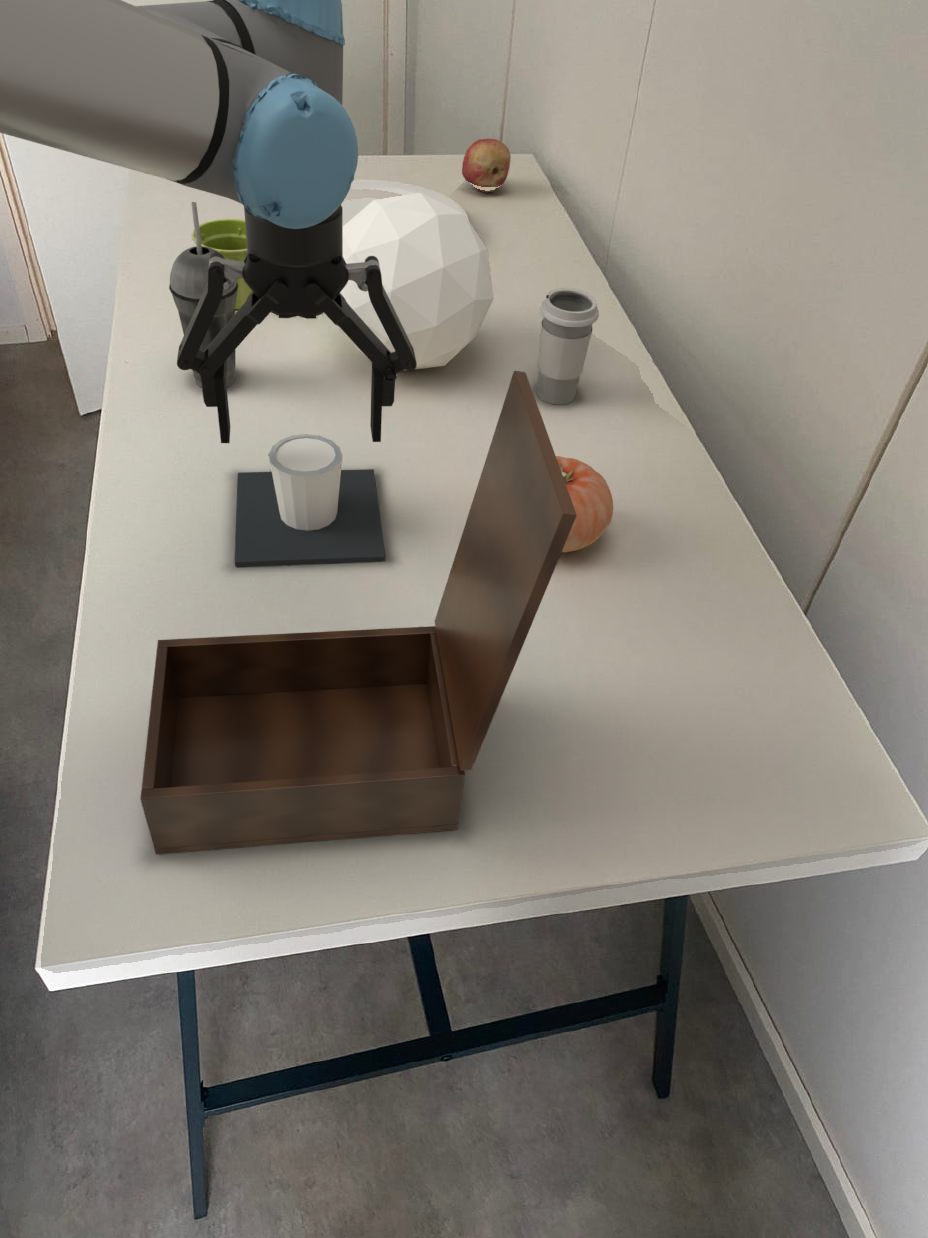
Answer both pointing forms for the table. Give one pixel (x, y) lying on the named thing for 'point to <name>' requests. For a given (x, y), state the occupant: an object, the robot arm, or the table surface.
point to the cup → (564, 342)
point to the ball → (421, 273)
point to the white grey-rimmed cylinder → (306, 480)
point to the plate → (357, 205)
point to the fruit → (486, 163)
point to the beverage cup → (188, 290)
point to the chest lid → (501, 566)
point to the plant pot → (227, 246)
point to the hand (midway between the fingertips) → (301, 434)
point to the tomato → (586, 502)
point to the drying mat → (280, 544)
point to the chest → (299, 739)
